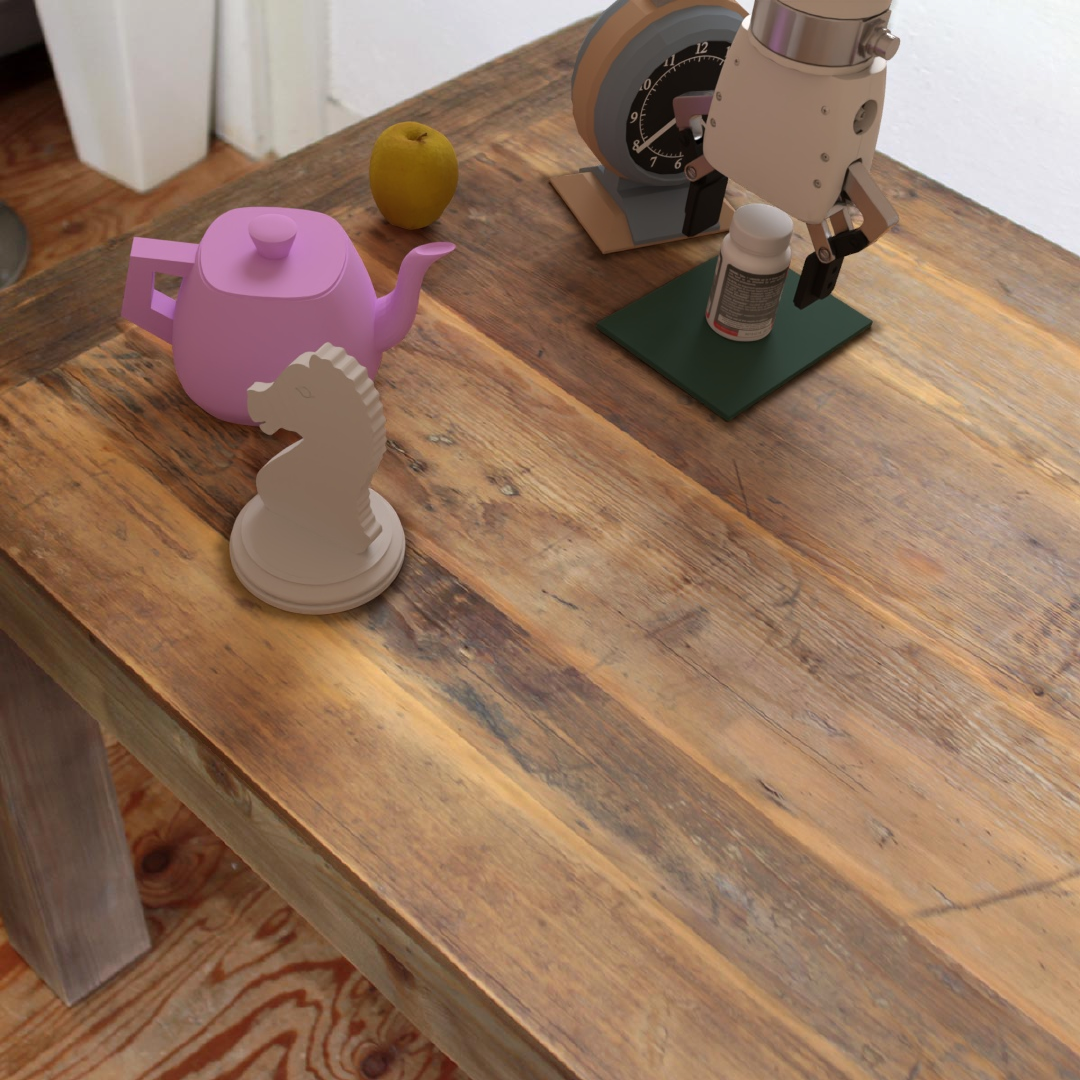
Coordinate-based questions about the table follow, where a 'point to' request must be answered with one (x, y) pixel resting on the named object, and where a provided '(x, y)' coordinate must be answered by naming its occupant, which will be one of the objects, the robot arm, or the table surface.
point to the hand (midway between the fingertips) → (753, 263)
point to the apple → (412, 174)
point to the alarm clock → (642, 116)
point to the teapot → (267, 301)
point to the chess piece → (319, 492)
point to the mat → (728, 340)
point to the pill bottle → (750, 273)
